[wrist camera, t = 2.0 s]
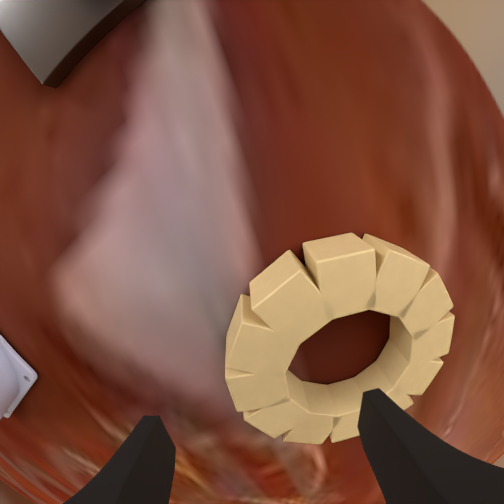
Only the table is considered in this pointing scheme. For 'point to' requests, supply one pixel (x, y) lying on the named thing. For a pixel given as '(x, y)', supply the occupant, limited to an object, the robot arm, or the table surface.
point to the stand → (58, 31)
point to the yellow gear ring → (318, 315)
